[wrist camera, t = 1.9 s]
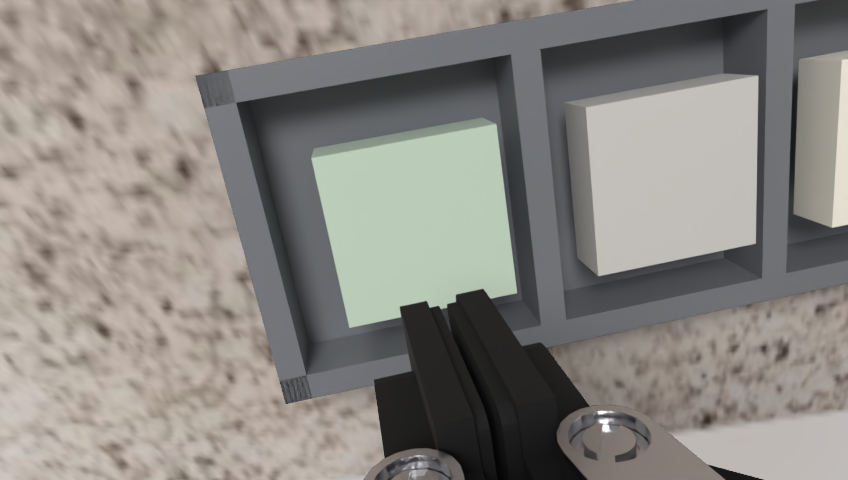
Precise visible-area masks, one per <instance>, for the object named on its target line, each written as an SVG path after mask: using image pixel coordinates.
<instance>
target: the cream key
mask: <svg viewBox="0 0 848 480" xmlns="http://www.w3.org/2000/svg"><path fill="white" fill-rule="evenodd" d="M793 214H795V215H798V216H801V217H803V218H806V219H809V220H812V221H814V222H817V223H820V224H823V225H826V226H828V227H831V228H834V227H839V226H843V225H848V50H847V51H841V52H836V53H830V54H825V55H820V56H814V57H809V58H803V59H799V72H798V100H797V127H796V154H795V182H794V209H793Z"/></svg>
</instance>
